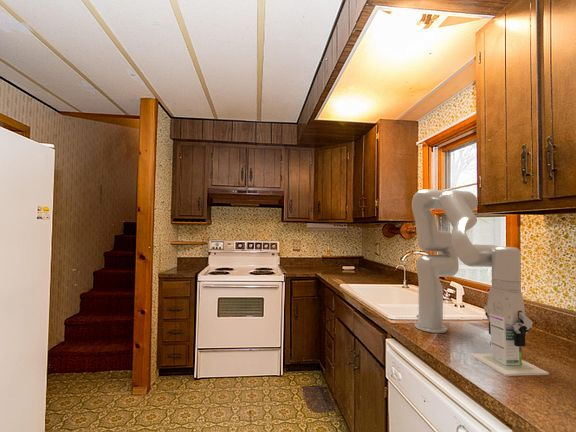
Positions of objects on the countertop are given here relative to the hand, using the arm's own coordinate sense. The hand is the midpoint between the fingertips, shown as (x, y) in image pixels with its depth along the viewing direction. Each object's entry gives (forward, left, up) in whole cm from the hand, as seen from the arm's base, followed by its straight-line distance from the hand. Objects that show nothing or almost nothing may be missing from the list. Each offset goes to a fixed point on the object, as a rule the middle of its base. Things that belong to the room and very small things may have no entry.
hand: (506, 340), depth 94 cm
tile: (0, 0, -8) cm, 8 cm away
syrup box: (0, 0, -7) cm, 7 cm away
